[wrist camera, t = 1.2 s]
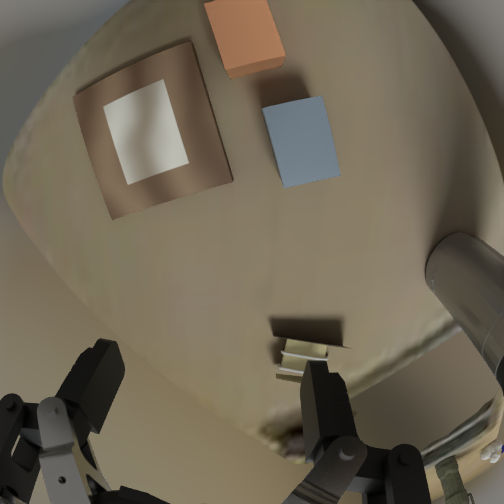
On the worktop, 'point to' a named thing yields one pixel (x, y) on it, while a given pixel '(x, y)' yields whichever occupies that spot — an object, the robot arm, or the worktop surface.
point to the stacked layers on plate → (300, 357)
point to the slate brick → (301, 141)
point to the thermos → (452, 482)
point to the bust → (491, 451)
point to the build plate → (152, 132)
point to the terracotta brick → (245, 36)
